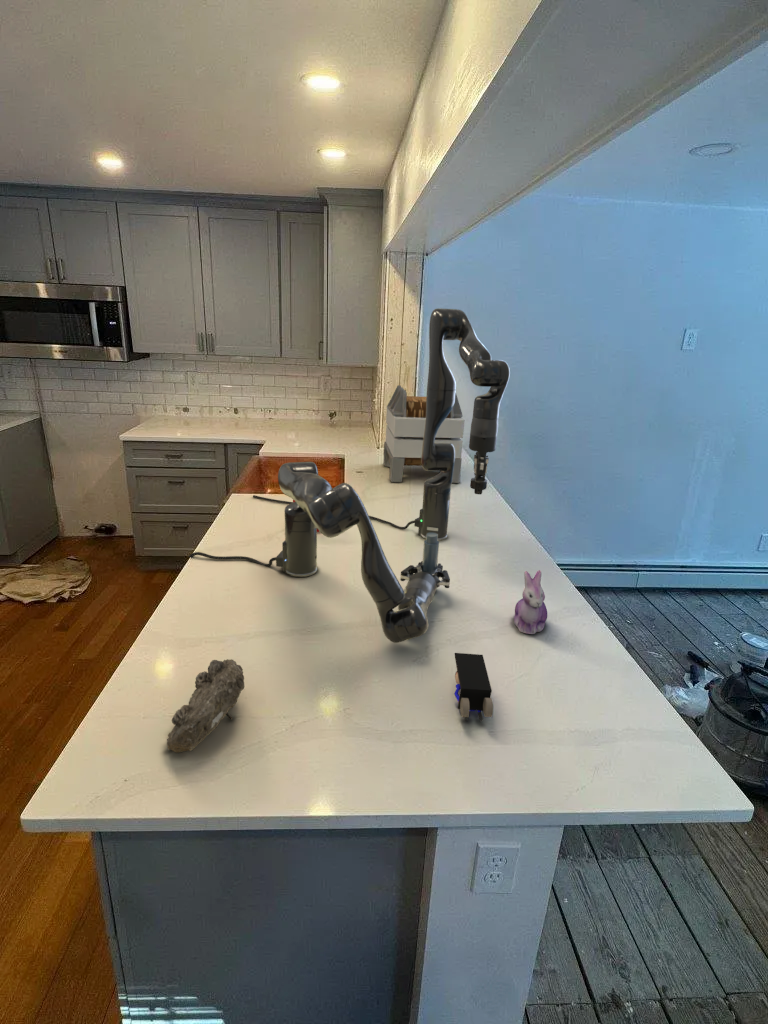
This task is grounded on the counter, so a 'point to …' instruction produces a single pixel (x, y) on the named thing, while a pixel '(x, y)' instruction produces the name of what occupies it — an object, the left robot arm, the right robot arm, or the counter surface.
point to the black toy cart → (472, 685)
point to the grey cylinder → (430, 553)
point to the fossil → (206, 705)
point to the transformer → (417, 433)
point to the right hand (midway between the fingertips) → (477, 490)
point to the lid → (474, 484)
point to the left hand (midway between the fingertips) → (431, 565)
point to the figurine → (531, 606)
